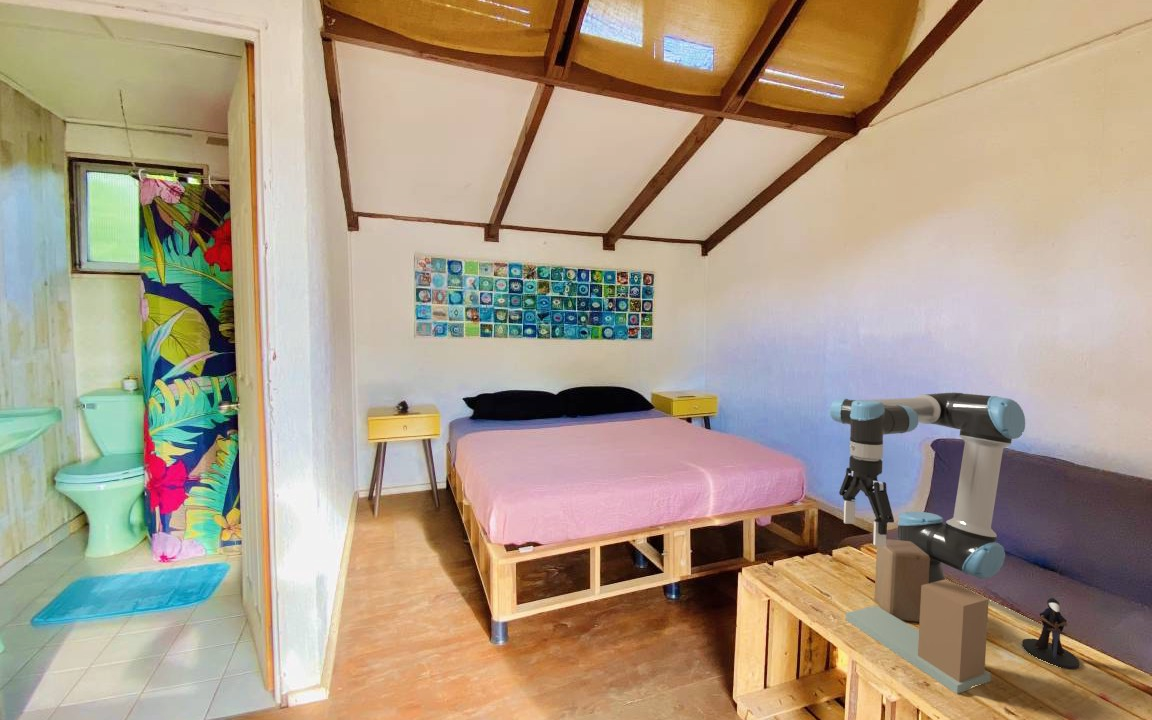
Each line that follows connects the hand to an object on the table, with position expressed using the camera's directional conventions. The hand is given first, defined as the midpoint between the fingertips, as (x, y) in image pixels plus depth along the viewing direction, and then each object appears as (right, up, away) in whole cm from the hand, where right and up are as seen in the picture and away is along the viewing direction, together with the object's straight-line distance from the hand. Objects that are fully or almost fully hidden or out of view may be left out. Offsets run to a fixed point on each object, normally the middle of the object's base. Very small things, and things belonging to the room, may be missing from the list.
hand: (863, 533), depth 121 cm
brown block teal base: (+9, -28, -6) cm, 30 cm away
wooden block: (+17, -27, +10) cm, 34 cm away
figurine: (+43, -29, -7) cm, 52 cm away
